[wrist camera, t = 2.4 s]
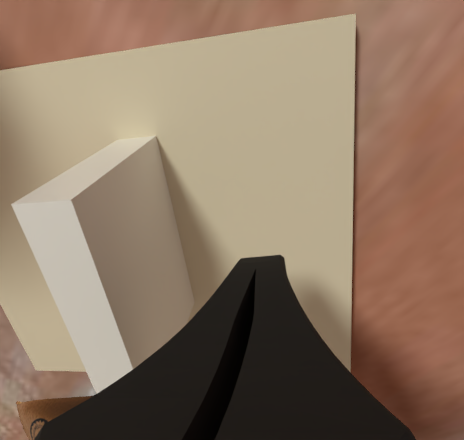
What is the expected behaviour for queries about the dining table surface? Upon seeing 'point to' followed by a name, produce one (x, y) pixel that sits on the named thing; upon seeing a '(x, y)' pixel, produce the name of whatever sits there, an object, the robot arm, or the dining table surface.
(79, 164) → the tile
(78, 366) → the mat
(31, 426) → the sunglasses case
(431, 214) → the dining table surface
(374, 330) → the dining table surface
